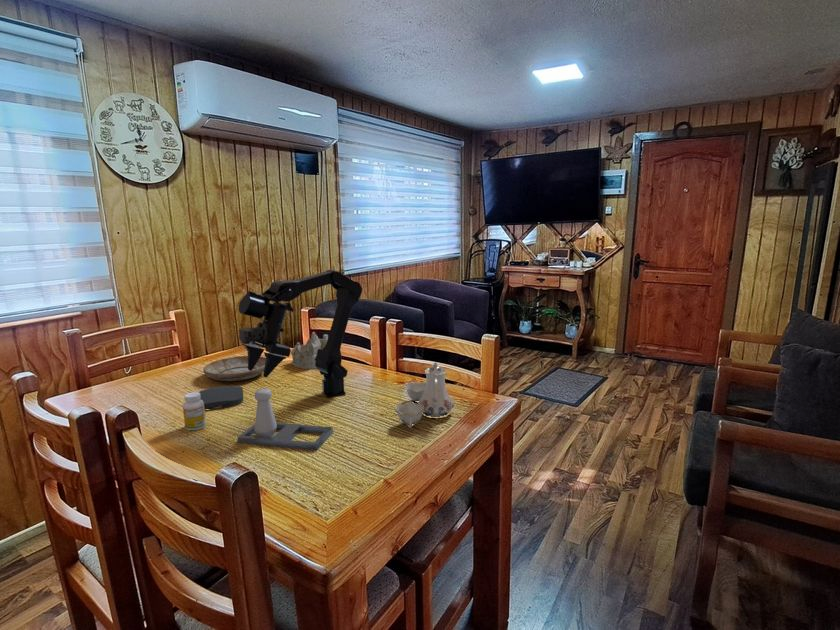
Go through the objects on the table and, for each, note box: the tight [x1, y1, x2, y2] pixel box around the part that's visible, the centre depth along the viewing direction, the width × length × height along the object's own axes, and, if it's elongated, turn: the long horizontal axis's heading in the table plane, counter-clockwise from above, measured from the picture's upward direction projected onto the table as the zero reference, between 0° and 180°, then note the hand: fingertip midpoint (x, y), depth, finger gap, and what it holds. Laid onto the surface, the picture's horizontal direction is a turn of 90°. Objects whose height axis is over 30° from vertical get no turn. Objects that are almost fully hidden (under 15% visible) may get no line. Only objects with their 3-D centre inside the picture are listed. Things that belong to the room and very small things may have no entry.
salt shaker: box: [254, 388, 277, 438], centre depth 121 cm, size 6×6×13 cm
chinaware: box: [395, 362, 455, 429], centre depth 135 cm, size 28×17×17 cm, turn 178°
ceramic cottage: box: [290, 331, 329, 370], centre depth 186 cm, size 16×16×15 cm
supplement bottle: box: [182, 391, 207, 431], centre depth 127 cm, size 5×5×10 cm
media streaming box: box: [198, 385, 244, 410], centre depth 147 cm, size 15×15×3 cm
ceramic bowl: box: [203, 355, 266, 382], centre depth 172 cm, size 23×24×5 cm
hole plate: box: [236, 421, 334, 451], centre depth 121 cm, size 22×10×2 cm, turn 78°
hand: (257, 373), depth 131 cm, fingers open, 9 cm apart
